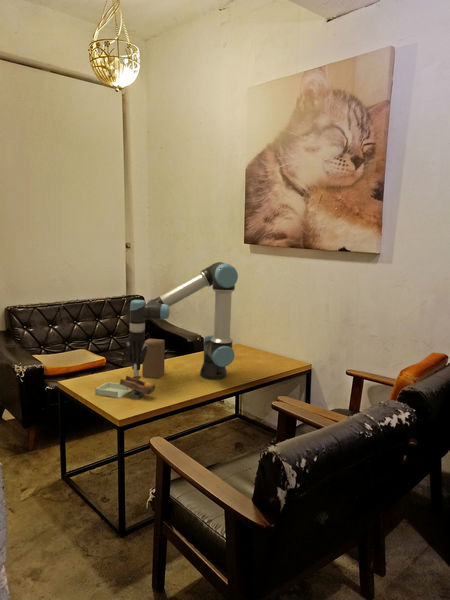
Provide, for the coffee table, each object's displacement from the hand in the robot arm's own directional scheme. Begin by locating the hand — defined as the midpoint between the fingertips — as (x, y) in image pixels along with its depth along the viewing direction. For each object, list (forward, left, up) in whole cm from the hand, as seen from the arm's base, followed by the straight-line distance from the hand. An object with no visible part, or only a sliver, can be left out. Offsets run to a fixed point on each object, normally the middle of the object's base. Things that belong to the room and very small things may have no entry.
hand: (136, 375), depth 232 cm
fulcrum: (-6, +9, -7) cm, 13 cm away
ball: (-11, +9, -1) cm, 14 cm away
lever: (-5, +5, -3) cm, 8 cm away
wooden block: (+2, -23, -7) cm, 24 cm away
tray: (+7, +9, -7) cm, 14 cm away
